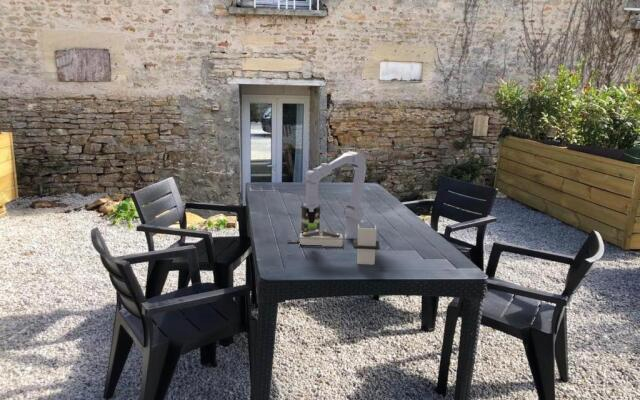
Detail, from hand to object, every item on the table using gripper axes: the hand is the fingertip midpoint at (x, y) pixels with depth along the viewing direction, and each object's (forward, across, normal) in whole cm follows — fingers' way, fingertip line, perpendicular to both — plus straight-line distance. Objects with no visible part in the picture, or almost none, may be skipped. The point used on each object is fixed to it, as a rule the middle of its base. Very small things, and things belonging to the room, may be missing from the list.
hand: (311, 222), depth 229 cm
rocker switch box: (+10, 0, +2) cm, 11 cm away
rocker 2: (+6, 0, +10) cm, 11 cm away
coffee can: (+11, -20, -1) cm, 23 cm away
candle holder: (+11, +25, +25) cm, 37 cm away
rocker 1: (+6, 0, 0) cm, 6 cm away
